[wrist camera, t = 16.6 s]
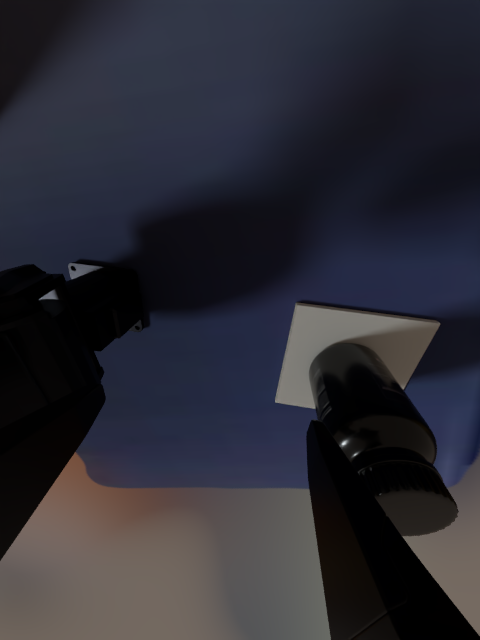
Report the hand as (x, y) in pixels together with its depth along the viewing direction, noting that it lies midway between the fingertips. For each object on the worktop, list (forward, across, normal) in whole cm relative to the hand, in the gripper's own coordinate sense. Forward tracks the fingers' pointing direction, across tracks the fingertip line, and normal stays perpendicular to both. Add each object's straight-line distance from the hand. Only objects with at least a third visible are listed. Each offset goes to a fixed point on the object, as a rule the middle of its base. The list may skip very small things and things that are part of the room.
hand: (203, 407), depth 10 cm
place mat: (+13, -11, +6) cm, 18 cm away
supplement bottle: (+13, -11, +6) cm, 18 cm away
